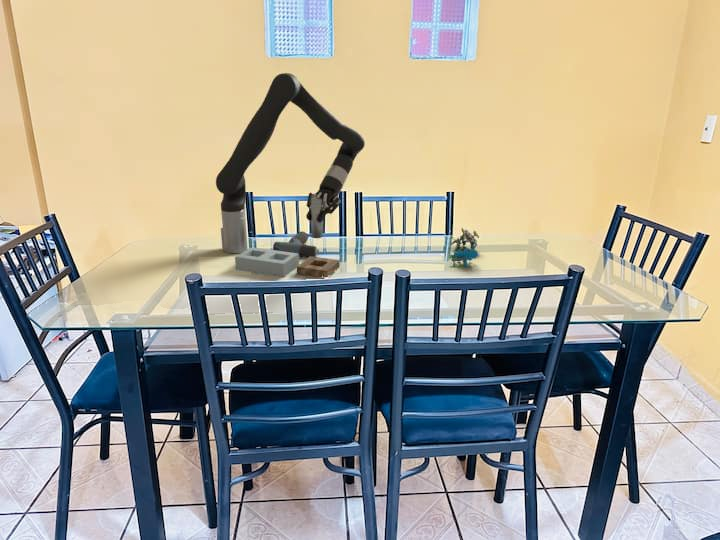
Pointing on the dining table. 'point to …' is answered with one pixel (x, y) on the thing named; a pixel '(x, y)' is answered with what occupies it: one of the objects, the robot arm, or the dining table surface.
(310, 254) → the power drill
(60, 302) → the dining table surface
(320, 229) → the steel bit
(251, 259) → the block
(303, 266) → the socket block
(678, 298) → the dining table surface
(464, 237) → the passion flower
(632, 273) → the dining table surface
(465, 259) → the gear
